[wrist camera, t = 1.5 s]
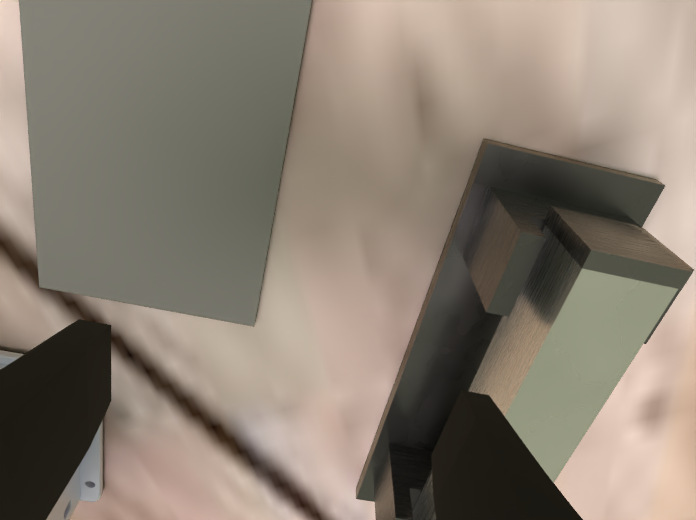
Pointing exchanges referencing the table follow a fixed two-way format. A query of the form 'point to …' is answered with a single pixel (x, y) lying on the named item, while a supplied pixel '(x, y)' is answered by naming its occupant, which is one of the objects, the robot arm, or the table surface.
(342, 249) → the table surface
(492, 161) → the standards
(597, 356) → the rail
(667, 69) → the table surface
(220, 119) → the pad
